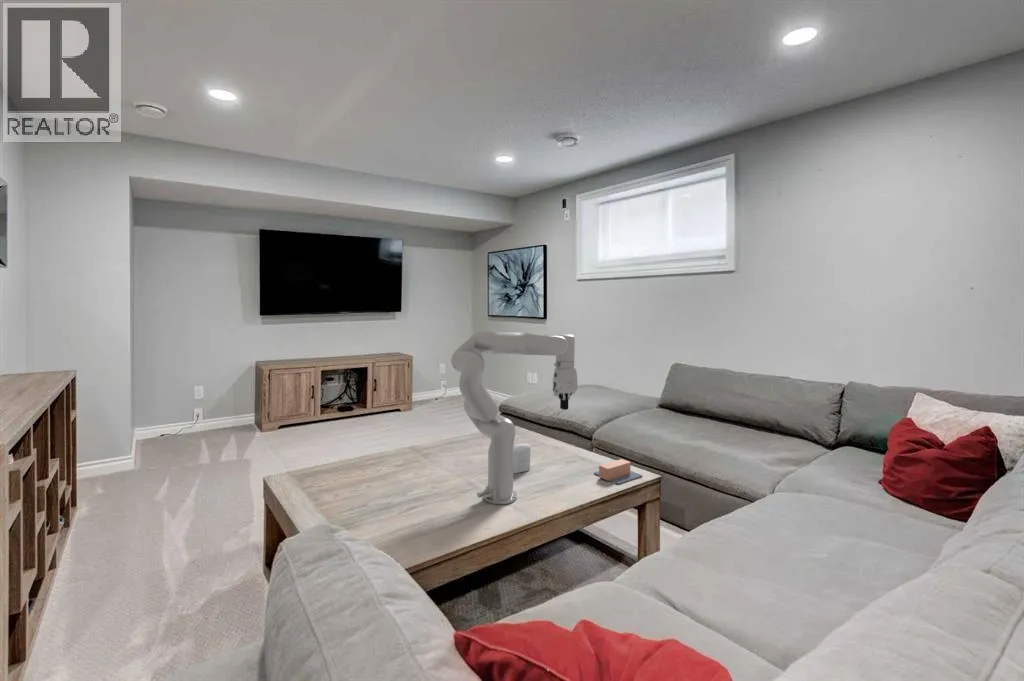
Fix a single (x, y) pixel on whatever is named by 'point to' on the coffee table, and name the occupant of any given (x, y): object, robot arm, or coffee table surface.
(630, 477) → the mat
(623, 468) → the terracotta block
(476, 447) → the coffee table surface
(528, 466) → the photo printer
